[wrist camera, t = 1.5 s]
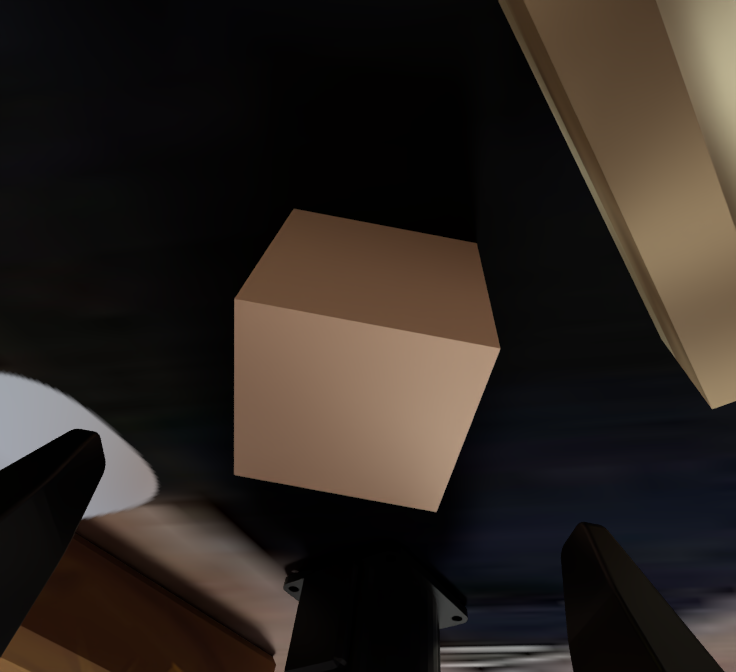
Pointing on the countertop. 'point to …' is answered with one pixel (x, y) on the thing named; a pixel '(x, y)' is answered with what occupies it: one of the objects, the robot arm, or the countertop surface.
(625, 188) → the arena
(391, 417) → the cube
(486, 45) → the countertop surface
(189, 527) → the countertop surface
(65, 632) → the diary
